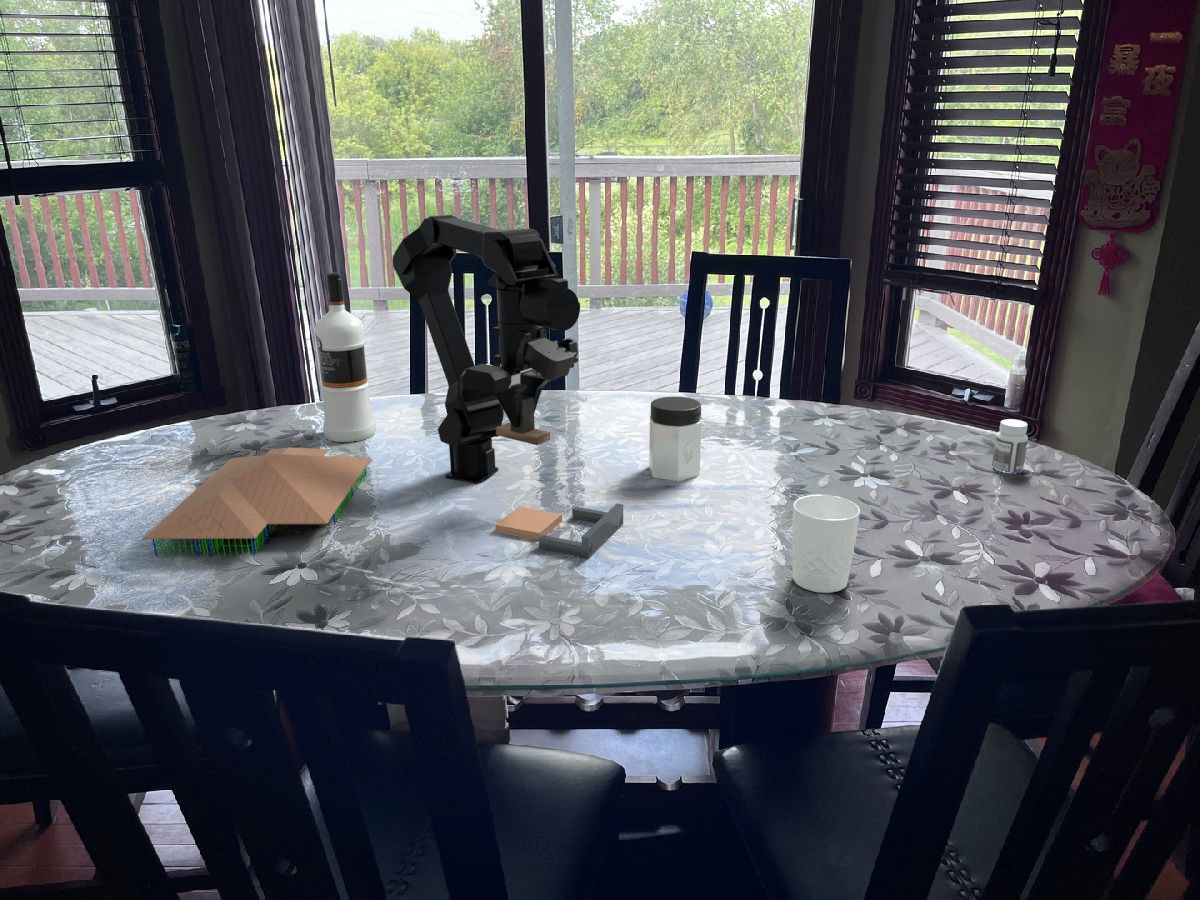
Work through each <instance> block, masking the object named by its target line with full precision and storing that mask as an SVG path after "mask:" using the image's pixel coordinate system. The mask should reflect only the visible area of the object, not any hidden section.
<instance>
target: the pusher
mask: <svg viewBox="0 0 1200 900" xmlns="http://www.w3.org/2000/svg"><path fill="white" fill-rule="evenodd" d="M535 425H536V424H535V413H534V397H531V396H527V395H522V394H521V411H520V426H519V427H513V426H512V425H511V423H510V422H507V423H505V424H502V425H501V426H499V427H496V435H497V436H498V437H502V438H506V439H509V440H510V439H511V440H513V441H518V442H522V443H526V444H530V445H534V446H539V445H541V444H544V443H547V442H548V441H551V432H550V431H547V430H542V429H538V428H535Z"/></svg>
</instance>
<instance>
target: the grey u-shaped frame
mask: <svg viewBox="0 0 1200 900" xmlns="http://www.w3.org/2000/svg"><path fill="white" fill-rule="evenodd" d="M571 514H572V515H571V518H572V520H578V521H584V522H588V523H589V522H590V523H594V524H593V525H592V526H591V527H590V528H588V530H586V532H585V533H584V534H582V536H581V541H576V540H570V539H565V538H561V537H554V536H549V535H546V536H545V535H541V536H540V537H539V540H538V549H543V550H548V551H552V552H556V553H557V552H558V553H563V554H568V555H573V556H578V557H581V558H582V559H583V558H584V559H588V560H589V559H590V558H591V557H592V556H593V555H594V554H595V553H596V552H597V551H598V550H599V549H600V548H601V547H602V546H603V545H604V544H605V543H606V542H607V541H608V540H610V538H611V537H612V536H613V535H614V534H615V533H616V532H617V531H618V530H619V529H620V528H621V527H622V526H623V525H624V504H623V503H615V505H613V506H612V507H611V508H610V509H609V510H608V511H603V510H599V509H598V510H596V509H590V508H585V507H580V506H574V507H573V508H572V509H571Z"/></svg>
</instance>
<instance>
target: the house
mask: <svg viewBox="0 0 1200 900" xmlns="http://www.w3.org/2000/svg"><path fill="white" fill-rule="evenodd" d="M328 451H329V448H306V447H282V448H272V449H269V451H268V452H266V453H265V454H263V455H262V454H261V455H260V454H259V455H252V456H242V457H240V456H239V457H235V458H234V457H232V458H230V459H228V460H227V462H225V463H224V464H223V465H222V466H221V467H220V468H218V469H217V470H216V471H215V472H214V473H213V474H212V475H211V476H210V477H208V479H206V480H205V481H204V482H203V483H201V485H200V486H199V487H197V489H196V490H194V491H193V492H192V493H191V494H190V495H189V496H188V497H187V498H185V499H184V500H183V501H182V502H181V503H180V504H178V506H177V507H175V508H174V509H173V510H172V511H171V512H170V513H168V515H166V516H165V517H164V518H163V519H161V521H160V522H158V524H157V525H155V526H154V527H153V528H152V529H151V530H150V531H149V532H148V533H146V534H145V536H143V537H142V540H152V543H153V549H154V554H155V557H156V556H157V557H158V554H159V555H160V552H161V551H162V552H161V555H162V556H164V551H163V549H164V548H165V546H166V545H167V546H166V549H167V555H168V556H170V551H169V547H172V548H173V554H174V556H176V551H175V544H174V541H173V540H177V543H178V547H179V553H180V557H181V556H182V552H181V547H184V548H185V552H186V553H185V554H186V555H188V550H187V545H186V540H190V547H191V553H192V557H193V556H194V551H193V549H194V548H193V547H195V552H196V557H197V556H198V557H200V553H199V552H202V551H203V550H204V551H203V554H204V557H206V552H207V557H209V550H210V555H211V557H214V553H215V552H217V553H218V554H217V555H218V556H220V552H219V549H220V546H221V545H222V548H223V555H224V556H226V552H225V547H228V548H229V552H230V555H232V551H231V550H232V549H231V547H235V554H236V555H238V550H237V547H238V546H239V547H241V553H242V555H244V549H243V547H247V551H248V554H250V550H249V547H251V550H252V555H255V556H256V554H255V553H256V552H257V553H258V549H259V550H260V546H261V547H262V544H263V545H264V542H266V541H267V538H268V537H269V538H270V533H271V534H272V531H273V532H274V529H275V530H276V526H277V525H278V524H279V525H327V524H328V523H329V524H331V521H330V520H331V519H332V518H333V524H334V525H336V524H337V523H336V522H338V520H339V517H341V515H342V513H343V512H344V510H345V508H346V507H347V506H348V504H349V503H350V501H351V499H352V498H353V497H354V493H355V492H357V490H358V487H359V486H361V484H362V482H363V480H364V479H365V478H366V477H365V476H367V475H366V474H367V466H368V464H369V463H370V461H371V460H372V457H359V456H337V455H336V456H332V455H326V454H327V453H328ZM360 483H361V484H360ZM351 497H352V498H351ZM279 525H278V526H279ZM278 526H277V527H278ZM267 536H268V537H267ZM213 539H214V540H213ZM224 539H226V540H228V544H225V542H224ZM230 539H231V540H233V541H234V545H230ZM236 539H237V540H239V541H240V544H237V543H236ZM244 539H245V540H246V544H245V545H243V542H242V540H244ZM249 539H250V543H251V544H249V543H248V540H249ZM157 540H158V541H157ZM170 540H172V541H170ZM180 540H183V543H184V545H182V544H181V545H180ZM192 540H194V545H193V543H192ZM265 540H266V541H265ZM164 541H165V543H164ZM223 542H224V543H223ZM169 543H170V544H172V545H170V544H169ZM158 544H159V545H158ZM208 544H209V545H208ZM208 546H209V549H208ZM205 547H206V551H205ZM214 547H215V548H214ZM218 548H219V549H218ZM159 549H160V550H159ZM159 551H160V552H159Z"/></svg>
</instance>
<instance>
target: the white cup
mask: <svg viewBox="0 0 1200 900" xmlns="http://www.w3.org/2000/svg"><path fill="white" fill-rule="evenodd" d="M860 515H861V508H860V507H859V505H858V504H856V503H855V502H853V501H851V500H849V499H847V498H843V497H841V496H836V495H830V494H810V495H804V496H801V497H799V498H797V499H795V500H794V501H793V505H792V532H791V533H792V535H791V537H792V539H791V541H792V543H791V544H792V548H791V550H792V553H791V555H792V572H791V573H792V579H793V581H794V583H795V584H796V585H797V586H799V587H801V588H803V589H804V590H807V591H811V592H815V593H823V594H825V593H826V594H830V593H835V592H839V591H842V590H844V589H845V588H847V586H848V582H849V575H850V570H851V566H852V564H853V557H854V552H855V547H856V544H857V543H856V542H857V534H858V530H859V529H858V528H859V521H860Z"/></svg>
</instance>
